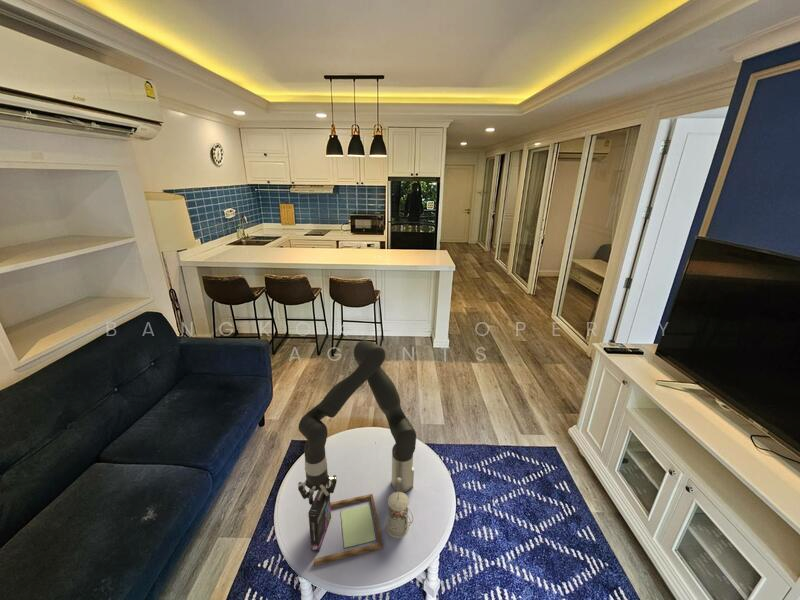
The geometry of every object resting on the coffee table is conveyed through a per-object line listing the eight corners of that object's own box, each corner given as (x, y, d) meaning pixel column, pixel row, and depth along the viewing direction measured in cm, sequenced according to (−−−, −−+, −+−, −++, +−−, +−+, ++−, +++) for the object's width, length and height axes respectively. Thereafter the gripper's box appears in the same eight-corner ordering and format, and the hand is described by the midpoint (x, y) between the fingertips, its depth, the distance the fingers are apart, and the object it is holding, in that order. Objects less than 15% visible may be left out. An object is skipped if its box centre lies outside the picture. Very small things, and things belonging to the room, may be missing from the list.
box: (320, 552, 120) (316, 513, 114) (311, 551, 120) (306, 512, 114) (332, 517, 133) (329, 480, 127) (324, 515, 134) (321, 479, 127)
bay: (372, 497, 142) (372, 493, 141) (382, 548, 122) (382, 544, 121) (313, 509, 136) (313, 506, 135) (314, 565, 116) (313, 562, 115)
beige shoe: (396, 510, 137) (397, 463, 128) (418, 528, 130) (421, 479, 122) (380, 528, 129) (380, 479, 121) (403, 547, 122) (404, 497, 114)
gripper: (335, 454, 121) (338, 489, 126) (295, 462, 117) (299, 497, 123) (337, 470, 114) (339, 506, 120) (294, 479, 110) (299, 516, 116)
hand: (319, 502), depth 121 cm, fingers open, 4 cm apart
